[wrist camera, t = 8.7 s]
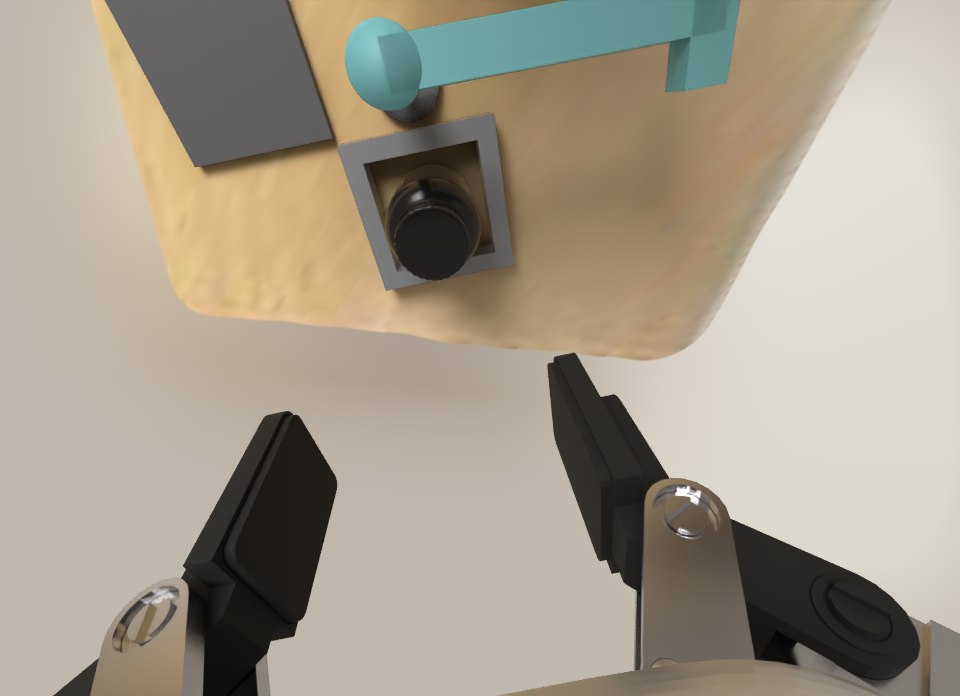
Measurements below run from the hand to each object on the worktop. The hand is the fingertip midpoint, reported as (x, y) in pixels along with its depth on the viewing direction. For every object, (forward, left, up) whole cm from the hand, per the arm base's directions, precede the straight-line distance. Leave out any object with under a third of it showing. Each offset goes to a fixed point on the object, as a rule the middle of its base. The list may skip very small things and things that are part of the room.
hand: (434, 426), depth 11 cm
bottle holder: (0, 0, -28) cm, 28 cm away
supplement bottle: (0, 0, -28) cm, 28 cm away
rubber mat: (-12, -12, -28) cm, 32 cm away
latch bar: (-9, +7, -14) cm, 18 cm away
